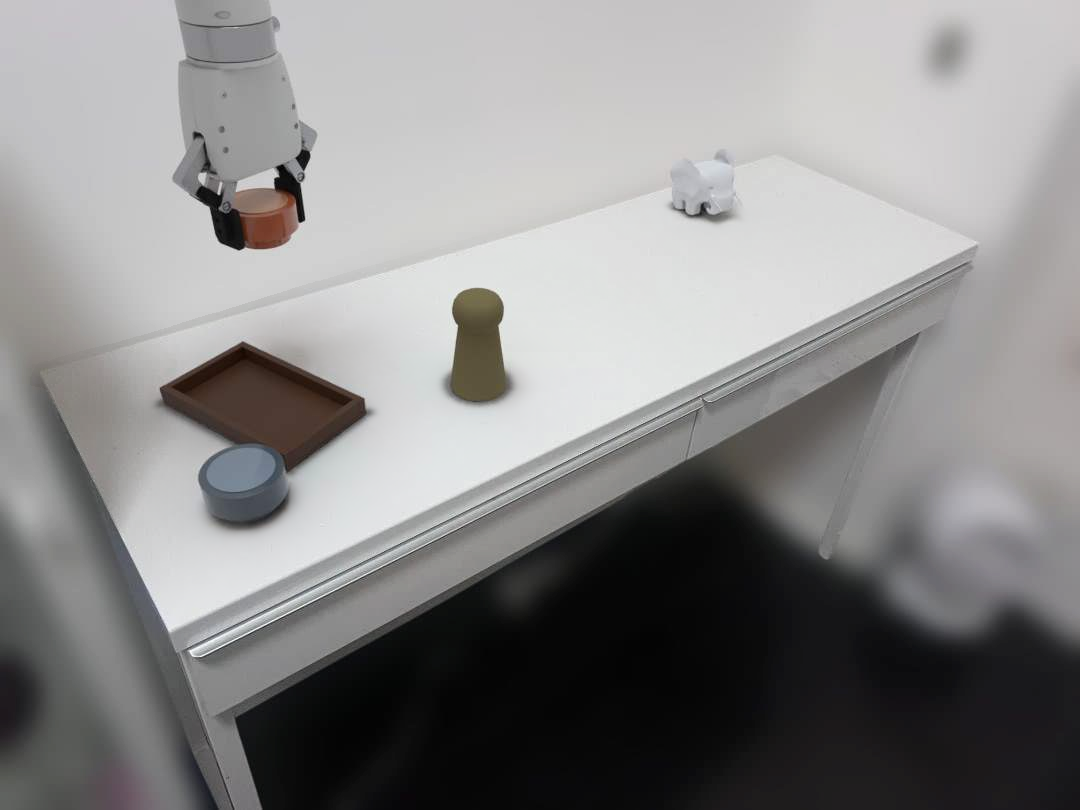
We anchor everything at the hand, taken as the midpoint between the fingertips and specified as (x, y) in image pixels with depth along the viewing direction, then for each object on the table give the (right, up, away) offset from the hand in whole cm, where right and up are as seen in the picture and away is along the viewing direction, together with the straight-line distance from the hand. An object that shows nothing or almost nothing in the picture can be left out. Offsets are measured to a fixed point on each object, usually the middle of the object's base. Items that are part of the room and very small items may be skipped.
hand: (263, 230), depth 80 cm
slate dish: (+2, -26, -9) cm, 27 cm away
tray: (0, -18, +2) cm, 18 cm away
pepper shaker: (+21, -15, +7) cm, 27 cm away
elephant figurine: (+52, +13, +45) cm, 70 cm away
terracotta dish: (0, -1, +1) cm, 1 cm away
